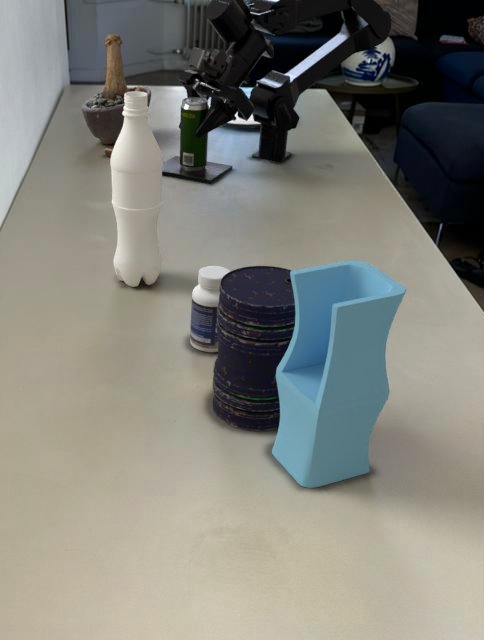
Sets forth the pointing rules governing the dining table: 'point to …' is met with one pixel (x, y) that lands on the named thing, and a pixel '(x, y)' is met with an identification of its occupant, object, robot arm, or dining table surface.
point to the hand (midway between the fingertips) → (188, 132)
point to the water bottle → (137, 194)
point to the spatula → (174, 170)
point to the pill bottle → (206, 309)
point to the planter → (110, 97)
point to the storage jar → (252, 345)
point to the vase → (334, 370)
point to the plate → (242, 122)
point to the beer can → (193, 134)
